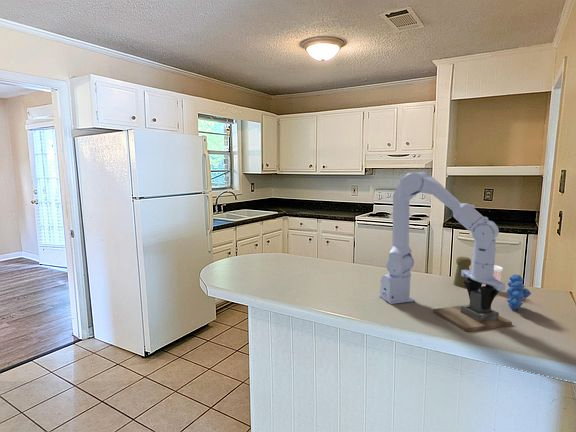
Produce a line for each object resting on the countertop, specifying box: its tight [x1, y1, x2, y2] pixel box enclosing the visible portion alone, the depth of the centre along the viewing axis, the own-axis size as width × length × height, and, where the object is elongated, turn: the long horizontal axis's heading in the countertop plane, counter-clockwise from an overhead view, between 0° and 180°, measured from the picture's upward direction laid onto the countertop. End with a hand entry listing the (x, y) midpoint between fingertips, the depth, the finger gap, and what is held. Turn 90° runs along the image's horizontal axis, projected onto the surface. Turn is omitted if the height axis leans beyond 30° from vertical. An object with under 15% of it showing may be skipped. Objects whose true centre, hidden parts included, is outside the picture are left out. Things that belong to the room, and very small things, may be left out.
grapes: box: [505, 274, 532, 311], centre depth 113 cm, size 12×7×12 cm, turn 157°
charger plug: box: [469, 288, 492, 314], centre depth 107 cm, size 4×4×7 cm
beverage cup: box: [483, 264, 504, 286], centre depth 131 cm, size 6×6×14 cm
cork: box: [453, 256, 472, 289], centre depth 137 cm, size 6×6×11 cm
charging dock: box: [432, 303, 513, 333], centre depth 108 cm, size 16×14×3 cm
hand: (479, 306), depth 107 cm, fingers closed on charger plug, 4 cm apart
